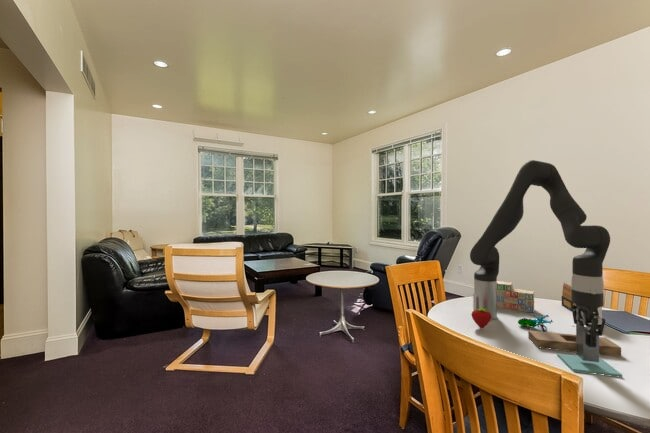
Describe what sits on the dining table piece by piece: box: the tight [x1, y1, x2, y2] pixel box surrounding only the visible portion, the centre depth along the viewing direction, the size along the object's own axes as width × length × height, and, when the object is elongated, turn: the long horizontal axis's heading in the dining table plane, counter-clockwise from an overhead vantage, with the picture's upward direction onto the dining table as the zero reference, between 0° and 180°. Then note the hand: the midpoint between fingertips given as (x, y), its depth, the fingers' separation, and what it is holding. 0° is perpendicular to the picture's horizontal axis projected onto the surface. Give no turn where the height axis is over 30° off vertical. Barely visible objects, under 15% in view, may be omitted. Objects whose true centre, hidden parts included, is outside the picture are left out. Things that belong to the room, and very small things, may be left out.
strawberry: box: [471, 304, 492, 329], centre depth 121 cm, size 6×8×10 cm
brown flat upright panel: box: [561, 282, 577, 313], centre depth 144 cm, size 11×2×12 cm, turn 164°
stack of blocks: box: [497, 280, 535, 314], centre depth 148 cm, size 21×6×12 cm, turn 50°
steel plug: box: [575, 324, 600, 362], centre depth 91 cm, size 4×4×10 cm
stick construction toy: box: [517, 313, 554, 332], centre depth 119 cm, size 12×7×8 cm
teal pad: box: [556, 353, 623, 378], centre depth 91 cm, size 12×10×1 cm
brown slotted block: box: [527, 330, 622, 357], centre depth 104 cm, size 24×8×3 cm, turn 73°
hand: (587, 343), depth 91 cm, fingers closed on steel plug, 4 cm apart
